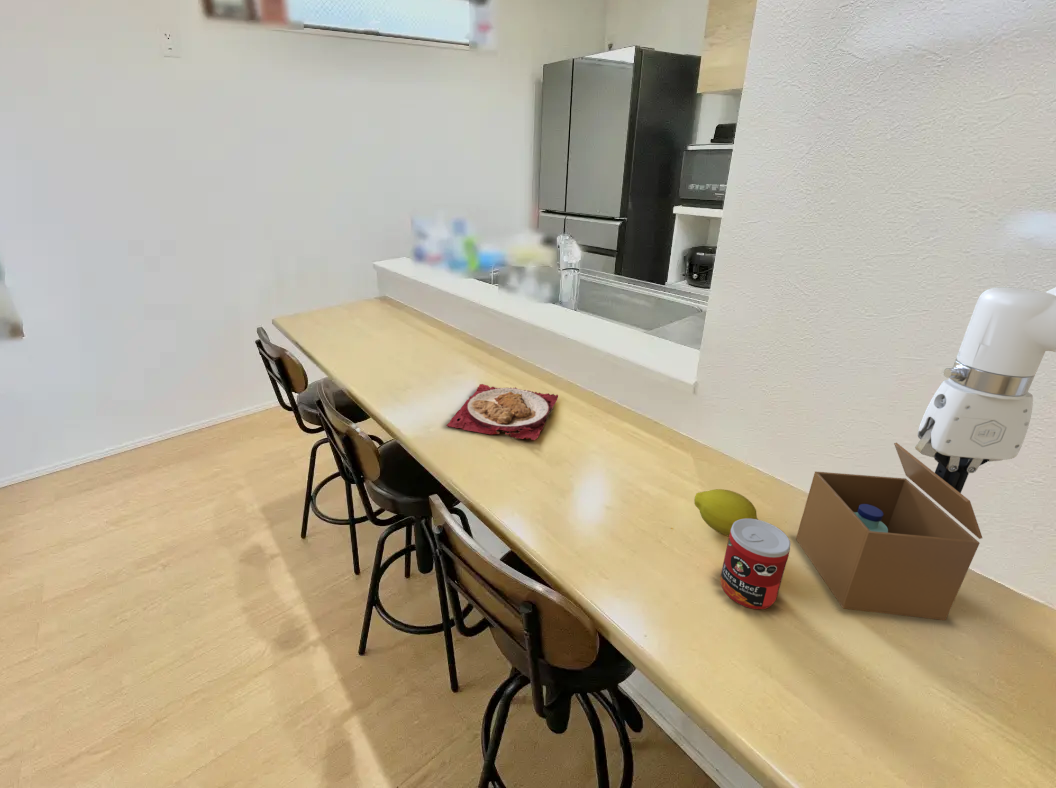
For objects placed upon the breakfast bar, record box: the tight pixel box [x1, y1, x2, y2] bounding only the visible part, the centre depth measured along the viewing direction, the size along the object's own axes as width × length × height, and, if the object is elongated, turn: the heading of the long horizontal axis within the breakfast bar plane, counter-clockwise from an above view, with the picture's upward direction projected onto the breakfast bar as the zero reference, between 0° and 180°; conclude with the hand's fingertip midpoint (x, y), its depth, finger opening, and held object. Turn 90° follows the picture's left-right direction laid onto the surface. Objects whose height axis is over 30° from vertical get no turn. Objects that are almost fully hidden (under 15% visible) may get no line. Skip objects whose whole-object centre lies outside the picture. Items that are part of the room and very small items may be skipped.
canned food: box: [719, 518, 792, 610], centre depth 76 cm, size 8×8×11 cm
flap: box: [893, 442, 983, 540], centre depth 74 cm, size 7×15×1 cm
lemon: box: [694, 488, 759, 537], centre depth 90 cm, size 11×8×8 cm
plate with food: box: [445, 383, 559, 441], centre depth 133 cm, size 24×26×4 cm
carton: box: [795, 471, 981, 621], centre depth 78 cm, size 14×15×14 cm
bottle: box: [854, 504, 888, 533], centre depth 79 cm, size 6×6×12 cm
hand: (944, 489), depth 74 cm, fingers closed
